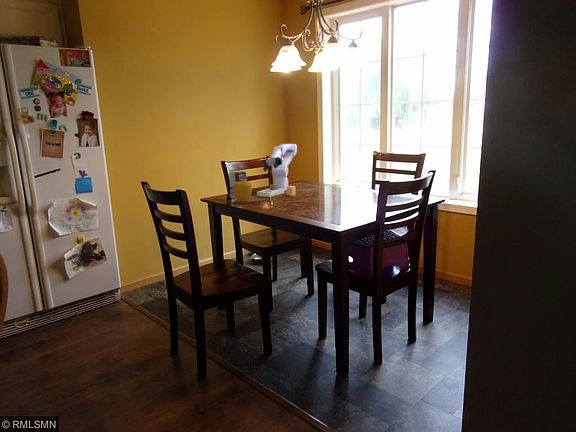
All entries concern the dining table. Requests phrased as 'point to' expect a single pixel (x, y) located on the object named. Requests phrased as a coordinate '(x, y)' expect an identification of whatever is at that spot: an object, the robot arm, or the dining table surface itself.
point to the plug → (291, 190)
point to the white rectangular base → (270, 191)
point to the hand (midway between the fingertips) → (269, 168)
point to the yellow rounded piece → (243, 191)
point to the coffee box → (236, 180)
